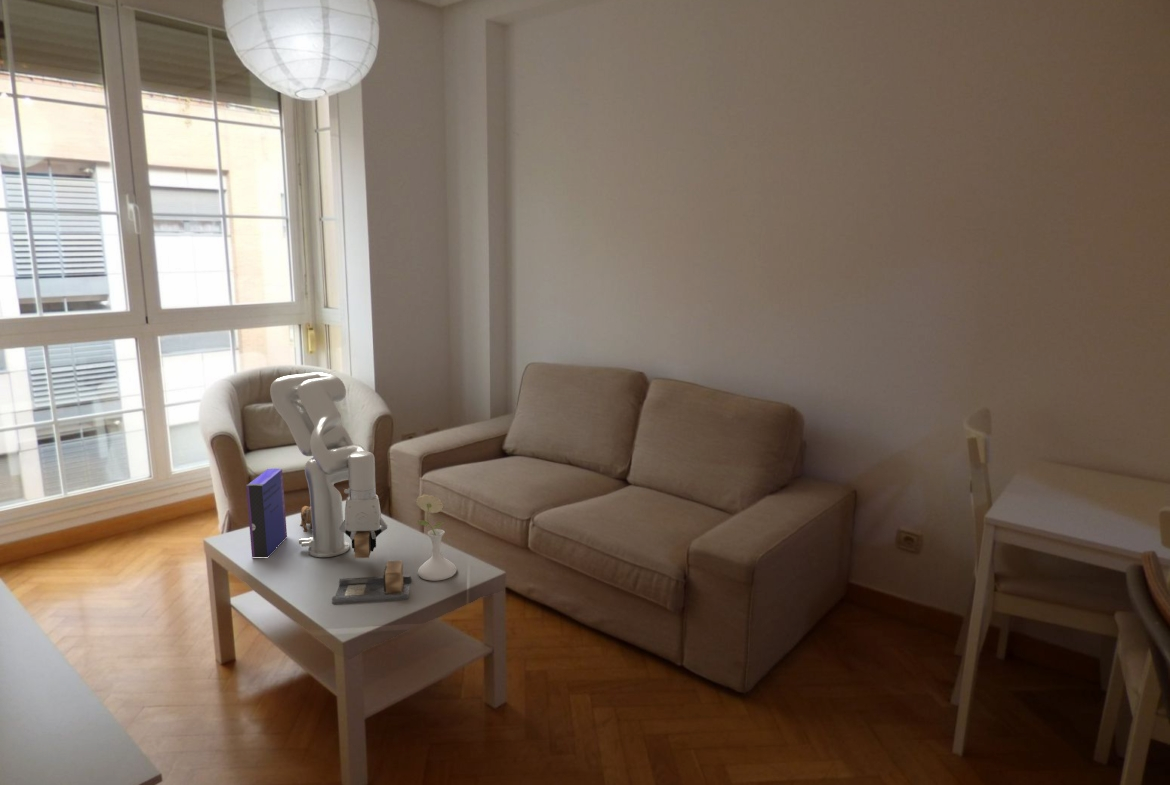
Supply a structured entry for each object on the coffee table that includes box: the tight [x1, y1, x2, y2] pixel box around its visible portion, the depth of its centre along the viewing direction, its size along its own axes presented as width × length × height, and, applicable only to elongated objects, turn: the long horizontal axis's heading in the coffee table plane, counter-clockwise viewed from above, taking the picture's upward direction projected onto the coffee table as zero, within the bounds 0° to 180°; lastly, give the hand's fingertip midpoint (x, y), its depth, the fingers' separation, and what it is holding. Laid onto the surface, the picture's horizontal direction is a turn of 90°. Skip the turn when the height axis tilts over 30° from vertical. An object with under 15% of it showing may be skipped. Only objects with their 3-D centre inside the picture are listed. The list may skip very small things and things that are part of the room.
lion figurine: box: [299, 505, 312, 533], centre depth 261 cm, size 15×5×9 cm, turn 36°
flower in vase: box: [415, 494, 457, 582], centre depth 222 cm, size 13×11×25 cm
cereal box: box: [245, 468, 288, 558], centre depth 242 cm, size 17×5×24 cm, turn 2°
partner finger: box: [383, 560, 404, 593], centre depth 212 cm, size 5×8×7 cm, turn 8°
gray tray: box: [331, 574, 412, 605], centre depth 212 cm, size 20×12×2 cm, turn 98°
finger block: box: [354, 531, 371, 559], centre depth 227 cm, size 4×8×7 cm, turn 8°
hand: (364, 549), depth 227 cm, fingers closed on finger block, 4 cm apart
